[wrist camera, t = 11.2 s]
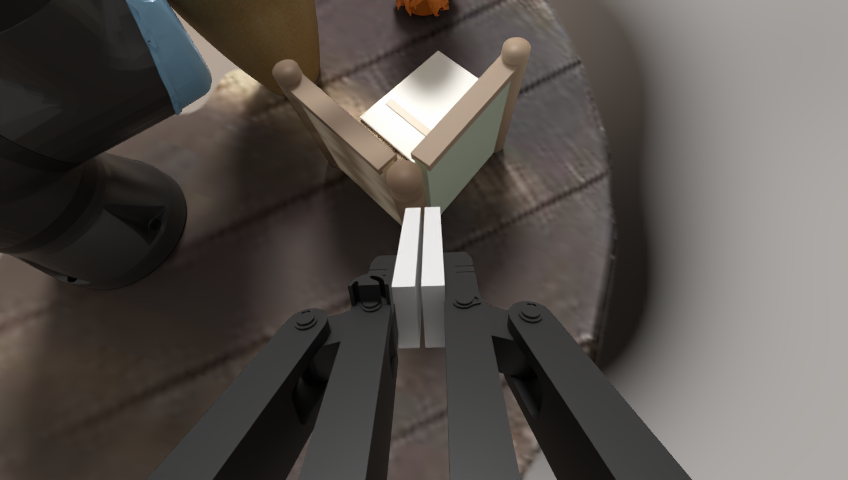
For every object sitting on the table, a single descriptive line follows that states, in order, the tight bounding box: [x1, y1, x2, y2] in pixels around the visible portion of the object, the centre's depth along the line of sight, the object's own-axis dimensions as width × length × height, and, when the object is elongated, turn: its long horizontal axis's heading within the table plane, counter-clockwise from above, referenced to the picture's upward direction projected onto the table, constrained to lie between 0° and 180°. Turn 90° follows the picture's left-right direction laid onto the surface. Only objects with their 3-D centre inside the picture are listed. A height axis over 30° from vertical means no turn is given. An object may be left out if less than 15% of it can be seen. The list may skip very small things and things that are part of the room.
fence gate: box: [411, 37, 531, 215], centre depth 31 cm, size 13×2×13 cm, turn 141°
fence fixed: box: [272, 59, 427, 237], centre depth 31 cm, size 16×3×14 cm, turn 45°
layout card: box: [360, 51, 478, 163], centre depth 40 cm, size 12×14×1 cm
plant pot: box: [167, 0, 320, 95], centre depth 36 cm, size 15×15×16 cm
